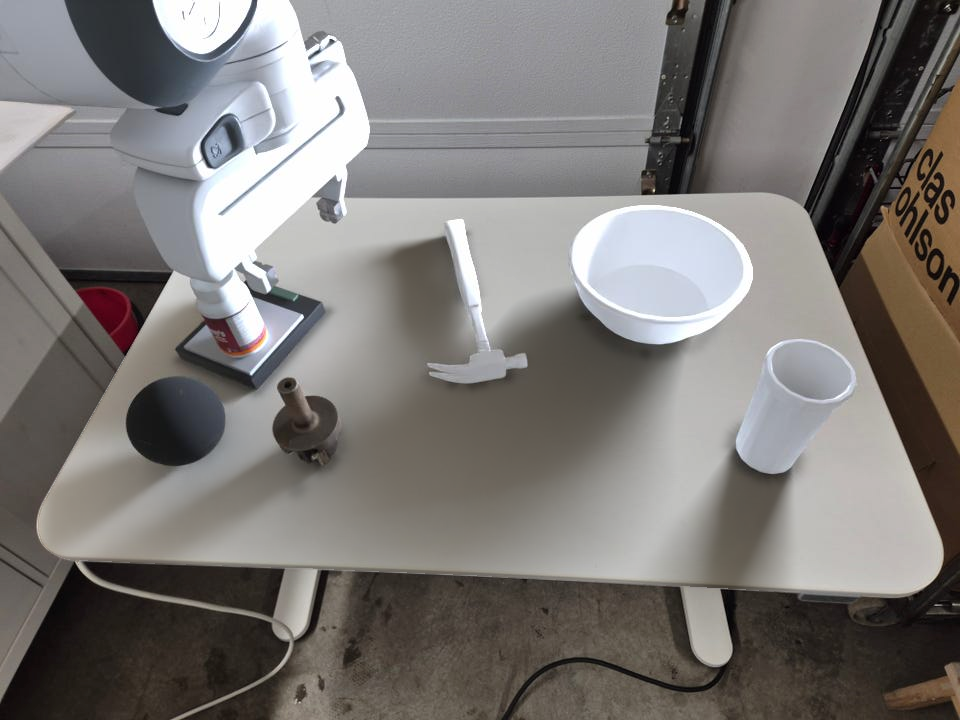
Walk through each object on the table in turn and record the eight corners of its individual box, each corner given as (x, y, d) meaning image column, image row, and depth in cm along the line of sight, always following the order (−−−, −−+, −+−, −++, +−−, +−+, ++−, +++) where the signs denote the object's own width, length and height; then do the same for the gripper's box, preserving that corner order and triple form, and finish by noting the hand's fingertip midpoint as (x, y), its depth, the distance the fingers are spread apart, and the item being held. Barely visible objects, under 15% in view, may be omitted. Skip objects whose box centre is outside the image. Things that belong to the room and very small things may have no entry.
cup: (807, 434, 69) (861, 351, 58) (798, 494, 64) (855, 416, 53) (733, 411, 71) (771, 328, 60) (719, 467, 67) (758, 388, 56)
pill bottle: (211, 345, 79) (173, 280, 70) (249, 317, 82) (217, 252, 73) (240, 367, 76) (204, 302, 68) (279, 337, 79) (249, 272, 71)
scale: (256, 390, 77) (249, 377, 75) (180, 358, 81) (171, 345, 79) (325, 311, 86) (321, 298, 84) (253, 287, 90) (247, 273, 88)
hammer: (432, 391, 76) (429, 375, 73) (407, 240, 95) (404, 224, 92) (528, 374, 77) (528, 358, 74) (484, 228, 96) (483, 212, 93)
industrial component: (293, 420, 74) (261, 356, 65) (352, 418, 74) (328, 353, 64) (276, 490, 68) (238, 430, 59) (341, 489, 67) (313, 428, 58)
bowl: (669, 235, 92) (681, 187, 86) (771, 334, 79) (794, 286, 72) (536, 280, 87) (537, 233, 81) (620, 394, 74) (630, 349, 67)
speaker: (233, 399, 76) (201, 347, 69) (243, 464, 70) (209, 414, 63) (150, 426, 74) (107, 374, 67) (152, 494, 68) (106, 447, 61)
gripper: (300, 16, 47) (341, 175, 57) (84, 151, 35) (186, 321, 45) (369, 26, 44) (399, 189, 55) (166, 173, 33) (252, 345, 43)
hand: (301, 250), depth 50 cm, fingers open, 8 cm apart
